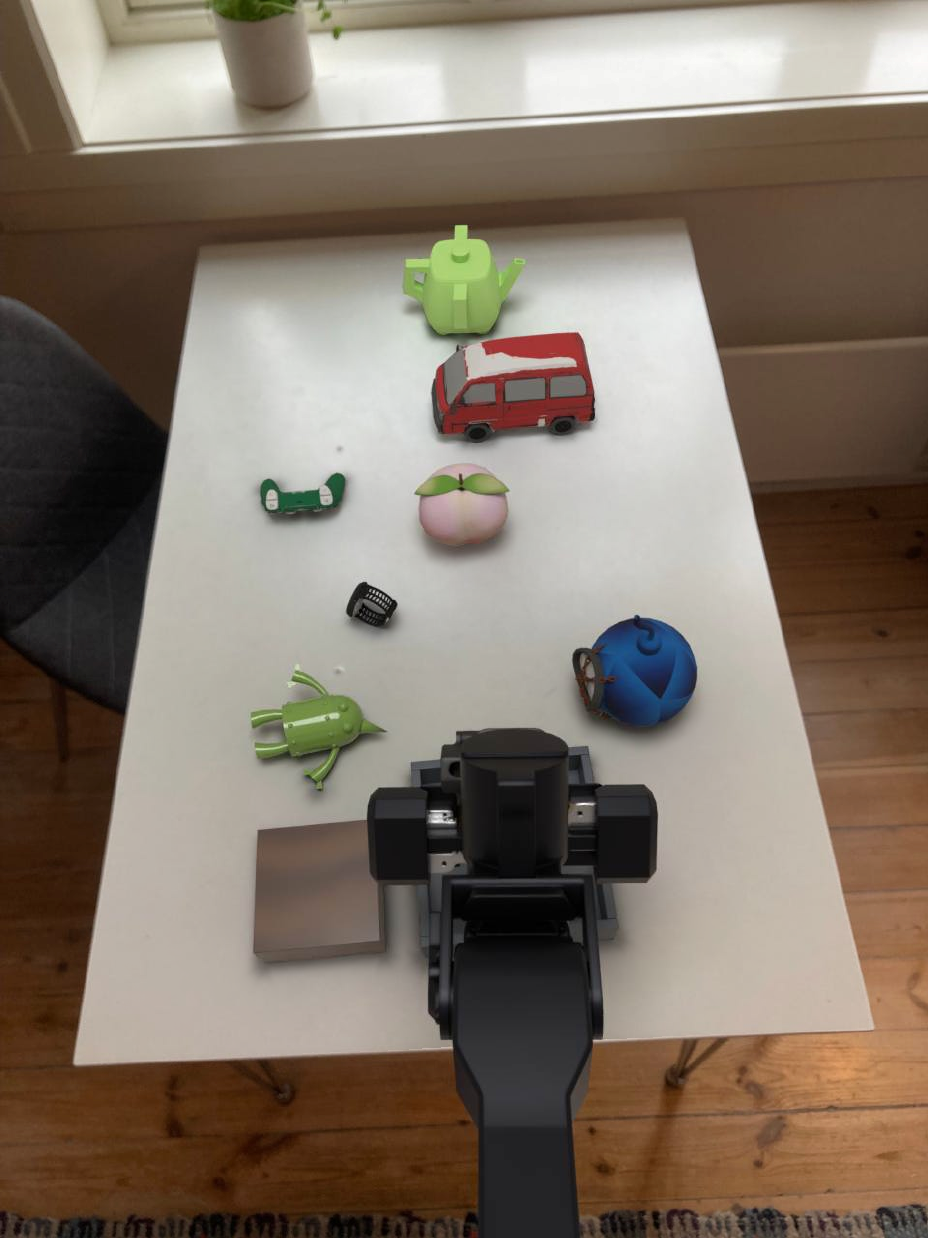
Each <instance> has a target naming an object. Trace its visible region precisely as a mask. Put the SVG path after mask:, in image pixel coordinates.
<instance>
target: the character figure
mask: <svg viewBox="0 0 928 1238" xmlns="http://www.w3.org/2000/svg"><path fill="white" fill-rule="evenodd" d="M293 667H294V669H295V671H294V672H293V674H292V676H291V679H290V680H291V681H287V682H286V685H287V686H288V689H291V688H293V687H295V686H296V685H298V684H303V685H306V686H309V687H312V688H314V689H315V690H316V691H317V692H318V693H319V694H320V695H322V696H317V697H313V698H307V699H303V700H298V701H293V702H292V701H287V702H286V703H283V704H282V705H281V709H279V708H272V709H271V708H270V709H260V710H256V711H251V712H250V723H251V727H252V729H253V730H255V729H256V728H258V727H261V726H262V725H265V724H268V723H271V722H274V721H281V720H282V725H283V731H284V735H285V741H280V742H268V743H266V742H257V741H255V742H254V751H255V756H256V758H257V760H261V759H266V758H267V759H268V758H273V757H275V756H278V755H282V754H284V753H286V752H289V754H290V756H291V757H293V758H294V757H302V756H303V755H307V754H312V753H317V752H322V751H327V750H331V751H330V753H329V756H328V757H327V759H326V760H325V761H324V762H323V763H322V764H320V765H319V766H318V767H317V768H315V769H307V768H303V771H302V773H303V776H310V777H311V778H312V779H313V780H314V781H315V782H316V788H315V790H323V781H322V780H323V779H325V777H326V775H327V774H328V773H329V772H330V771H331V768H332V766H333V765H334V763H335V761H336V758H337V756H338V752H339V750H340V748H341V747H344V746H347V745H348V744H351V743H353V742H354V741H355V740H356V739H357V738H358V737H359V735H360V734H361V735H362V734H376V733H388V732H389V731H388V730H385V729H384V728H382V727H380V726H378V725H376V724H375V723H374V722H371V721H369V720H368V719H365V718H364V717H365V716H364V713H363V710H362V707H361V706H360V704H359V703H358V702H357V701H356V700H355V699H353V698H352V697H350V696H348V695H344V694H333V693H331V694H329V692H328V691H327V689H325V687H324V686H323V685H322V684H321V683H320V682H319V681H318V680H316V679H315V678H314V677H313V676H311V675H309V674H308V673H306V672H304V671H302V668H301V664H300V662H299V663H296V664H295V665H293Z"/></svg>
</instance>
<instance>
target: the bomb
mask: <svg viewBox="0 0 928 1238" xmlns="http://www.w3.org/2000/svg"><path fill="white" fill-rule="evenodd" d="M571 663H572V668H573V672H574V675H575V678H574V680H576V682H577V685H578V689H579V690H578V692H579V695H580V696H581V698H582V701H583V703H584V706H585V707H584V708H585V709H586V712H587V713H591V712H594V713H595V715H597V716H598V717H600V718H602V719H604V720H608V719H609V720H613V719H614V720H616V721H617V722H619V723H622V724H624V725H625V724H626V725H628V726H632V727H652V726H657V725H659V724H663V723H665V722H668V721H669V720H671V719H673V718H674V717H676V716H677V715H679V713H681V711H683V710H684V709H685V707H686V706H687V704H688V703H689V702H690V700H691V699H692V697H693V694H694V692H695V689H696V687H697V682H698V664H697V660H696V656H695V654H694V651H693V649H692V647H691V644H690V643H689V641H687V639H686V638H685V636H684V635H683V634H682V633H681V632H679V631H678V630H677V629H676V628H675V627H673V626H672V625H670V624H668V623H666V622H664V621H662V620H659V619H655V618H651V617H641V615H639V614H634V616H633V617H631V618H627V619H622V620H619V621H618V622H616V623H614V624H613V625H611V626H609V627H608V628H606V629H605V631H603V632H602V633H601V634H600V635H599V636H598V637H597V639H596V640H595V641H594V643H593V644H592V646H591V648H589V647H578V648H575V650H574V651H573V653H572V657H571ZM599 708H600V710H602V711H603V712H601V711H599Z"/></svg>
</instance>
